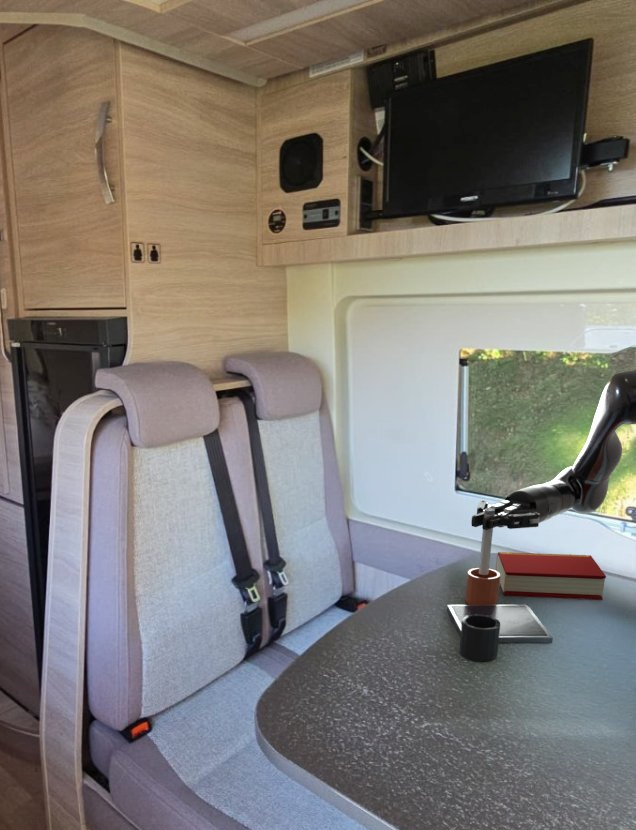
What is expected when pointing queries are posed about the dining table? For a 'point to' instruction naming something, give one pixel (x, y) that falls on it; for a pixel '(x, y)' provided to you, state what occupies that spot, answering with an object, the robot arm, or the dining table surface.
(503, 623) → the tablet
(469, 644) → the holder
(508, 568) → the book
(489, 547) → the stylus
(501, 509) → the robot arm
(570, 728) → the dining table surface
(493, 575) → the pen cup
